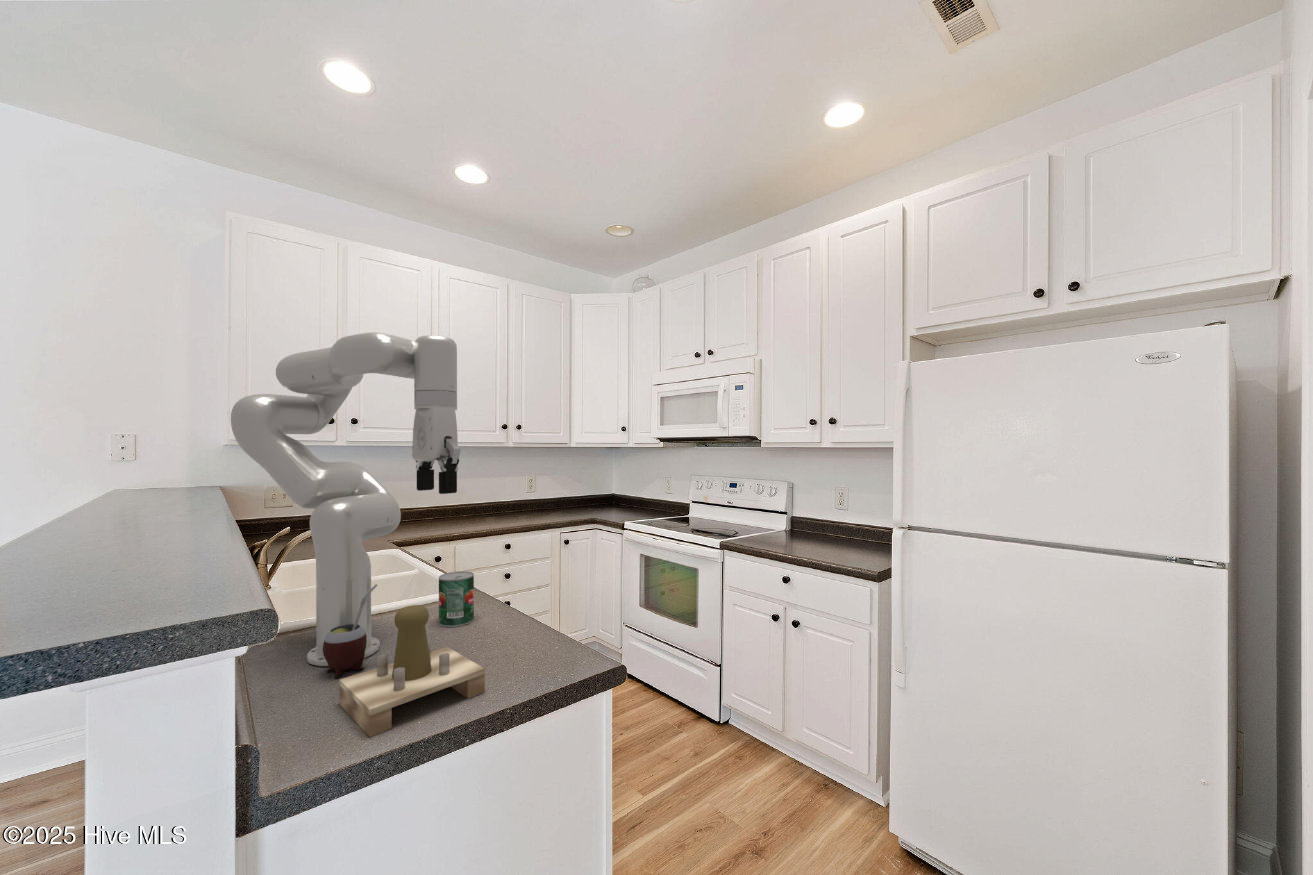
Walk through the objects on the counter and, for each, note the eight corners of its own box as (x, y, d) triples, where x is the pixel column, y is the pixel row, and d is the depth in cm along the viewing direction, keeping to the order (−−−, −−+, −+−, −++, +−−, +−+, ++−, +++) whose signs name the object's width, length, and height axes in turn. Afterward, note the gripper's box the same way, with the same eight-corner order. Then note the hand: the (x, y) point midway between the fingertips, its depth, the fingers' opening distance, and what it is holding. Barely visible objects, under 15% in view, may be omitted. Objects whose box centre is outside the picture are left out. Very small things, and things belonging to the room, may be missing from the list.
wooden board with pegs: (339, 703, 84) (339, 661, 84) (447, 667, 97) (447, 630, 97) (369, 737, 74) (369, 688, 74) (484, 692, 88) (484, 650, 88)
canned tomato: (433, 621, 123) (433, 575, 123) (466, 613, 128) (466, 569, 128) (445, 630, 117) (445, 581, 117) (479, 621, 122) (479, 575, 122)
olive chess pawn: (437, 664, 89) (437, 601, 89) (422, 680, 83) (422, 612, 83) (402, 665, 89) (401, 601, 89) (384, 681, 83) (384, 613, 83)
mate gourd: (314, 680, 92) (314, 597, 92) (338, 662, 100) (338, 584, 100) (357, 679, 93) (357, 596, 93) (378, 660, 101) (378, 583, 101)
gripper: (397, 403, 101) (398, 490, 101) (436, 398, 89) (436, 496, 89) (435, 405, 107) (436, 487, 107) (476, 400, 95) (477, 493, 95)
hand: (436, 491), depth 98 cm, fingers open, 9 cm apart
